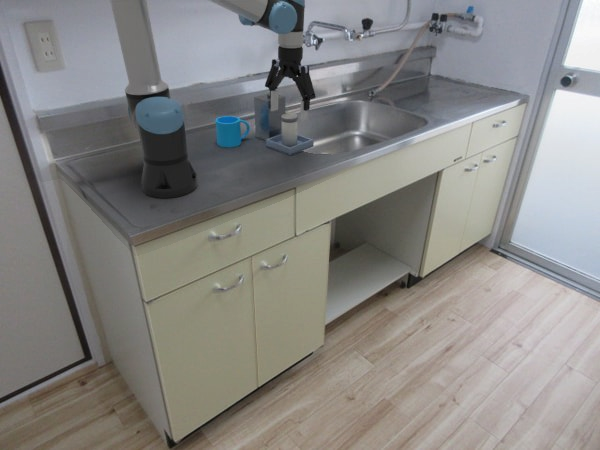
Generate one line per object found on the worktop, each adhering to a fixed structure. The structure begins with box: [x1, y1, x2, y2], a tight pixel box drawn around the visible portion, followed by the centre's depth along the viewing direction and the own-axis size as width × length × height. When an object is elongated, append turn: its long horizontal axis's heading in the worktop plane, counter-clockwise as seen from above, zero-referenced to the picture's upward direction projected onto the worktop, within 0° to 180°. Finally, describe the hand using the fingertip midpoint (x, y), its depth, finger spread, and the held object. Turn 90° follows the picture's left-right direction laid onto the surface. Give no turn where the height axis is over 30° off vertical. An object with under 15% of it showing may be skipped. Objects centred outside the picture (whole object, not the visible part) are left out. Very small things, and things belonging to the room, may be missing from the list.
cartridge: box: [281, 112, 299, 147], centre depth 152 cm, size 5×5×10 cm
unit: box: [253, 92, 286, 141], centre depth 159 cm, size 8×7×15 cm
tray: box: [265, 133, 315, 156], centre depth 154 cm, size 11×11×2 cm
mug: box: [215, 115, 251, 148], centre depth 156 cm, size 12×8×8 cm
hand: (288, 115), depth 149 cm, fingers open, 13 cm apart
